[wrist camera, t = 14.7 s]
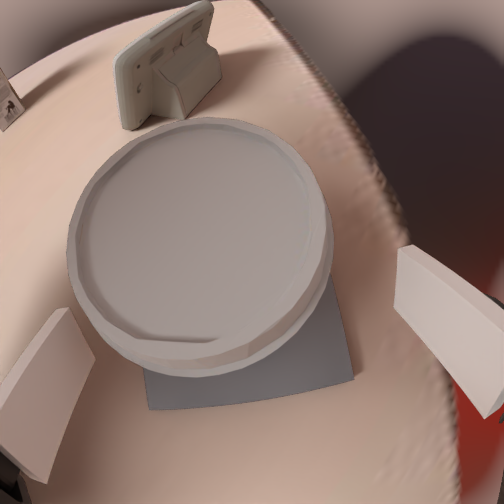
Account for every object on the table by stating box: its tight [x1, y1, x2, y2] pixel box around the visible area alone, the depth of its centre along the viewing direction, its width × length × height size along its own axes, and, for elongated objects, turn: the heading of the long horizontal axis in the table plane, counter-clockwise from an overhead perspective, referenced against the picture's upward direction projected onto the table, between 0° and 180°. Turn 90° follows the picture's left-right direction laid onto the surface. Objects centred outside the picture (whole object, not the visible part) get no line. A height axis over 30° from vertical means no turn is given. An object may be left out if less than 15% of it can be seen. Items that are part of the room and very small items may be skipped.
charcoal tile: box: [143, 273, 354, 410], centre depth 20 cm, size 14×14×1 cm
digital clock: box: [113, 0, 222, 130], centre depth 26 cm, size 16×9×11 cm, turn 145°
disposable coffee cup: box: [66, 117, 334, 378], centre depth 14 cm, size 10×10×12 cm
